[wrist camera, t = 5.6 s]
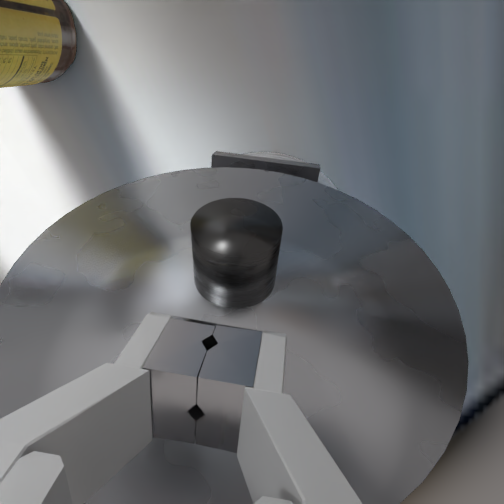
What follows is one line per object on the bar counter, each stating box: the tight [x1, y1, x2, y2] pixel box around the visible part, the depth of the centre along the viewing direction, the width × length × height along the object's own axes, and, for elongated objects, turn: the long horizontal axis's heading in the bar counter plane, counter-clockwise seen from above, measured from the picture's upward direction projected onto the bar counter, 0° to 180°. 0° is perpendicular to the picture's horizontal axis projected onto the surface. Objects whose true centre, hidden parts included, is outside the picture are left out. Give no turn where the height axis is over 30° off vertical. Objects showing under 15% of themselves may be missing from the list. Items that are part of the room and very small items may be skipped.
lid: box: [0, 167, 468, 504], centre depth 10 cm, size 13×13×3 cm
